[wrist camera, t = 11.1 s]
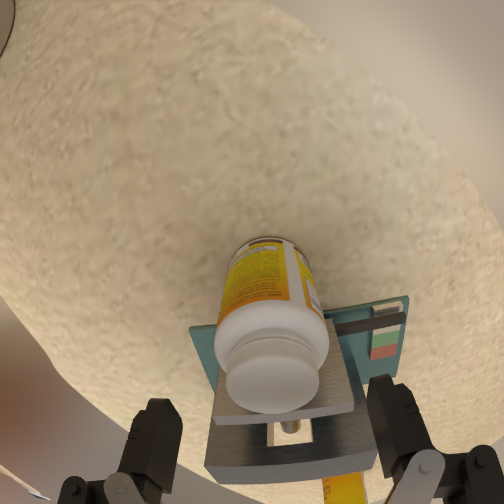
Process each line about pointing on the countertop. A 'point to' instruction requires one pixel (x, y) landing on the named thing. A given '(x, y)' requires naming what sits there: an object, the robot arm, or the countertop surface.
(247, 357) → the supplement bottle
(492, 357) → the countertop surface
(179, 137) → the countertop surface
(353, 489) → the beer can
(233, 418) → the grey plate with rod
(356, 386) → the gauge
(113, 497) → the robot arm
